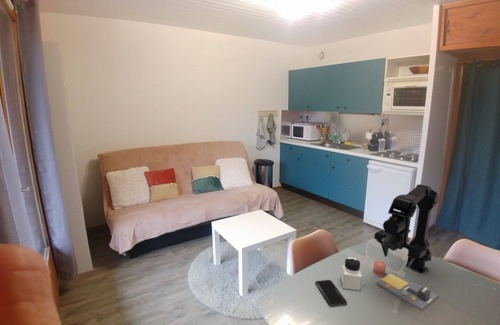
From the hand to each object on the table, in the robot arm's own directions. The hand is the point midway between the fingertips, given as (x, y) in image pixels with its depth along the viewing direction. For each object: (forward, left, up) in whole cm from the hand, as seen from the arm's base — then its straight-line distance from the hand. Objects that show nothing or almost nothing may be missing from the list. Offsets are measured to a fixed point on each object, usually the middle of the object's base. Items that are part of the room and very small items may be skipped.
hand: (396, 261), depth 112 cm
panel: (-5, +3, -14) cm, 15 cm away
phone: (+24, -13, -15) cm, 31 cm away
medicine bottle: (+12, -12, -14) cm, 22 cm away
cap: (-7, -10, -14) cm, 19 cm away
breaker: (-5, +10, -13) cm, 17 cm away
